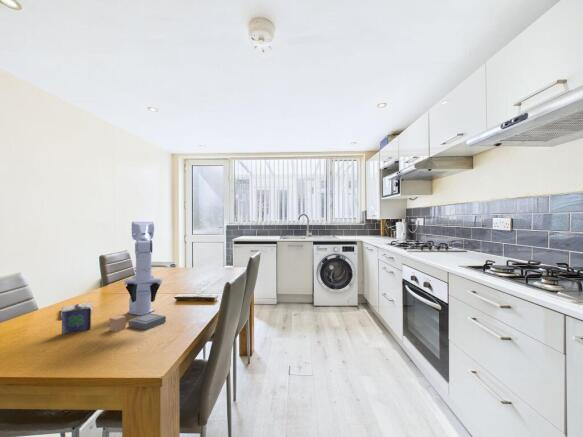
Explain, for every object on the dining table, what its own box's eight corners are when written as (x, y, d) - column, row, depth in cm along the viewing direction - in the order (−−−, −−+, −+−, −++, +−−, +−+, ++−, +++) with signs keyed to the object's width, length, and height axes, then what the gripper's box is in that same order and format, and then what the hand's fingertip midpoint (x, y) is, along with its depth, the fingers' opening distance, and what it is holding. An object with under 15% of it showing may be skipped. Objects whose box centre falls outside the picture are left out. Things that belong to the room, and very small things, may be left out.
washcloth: (60, 321, 123) (60, 314, 123) (60, 311, 137) (60, 305, 137) (93, 315, 131) (93, 308, 131) (90, 306, 144) (90, 300, 145)
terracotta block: (109, 330, 111) (109, 318, 112) (119, 327, 115) (119, 315, 115) (116, 332, 110) (116, 319, 110) (125, 328, 114) (125, 316, 114)
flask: (60, 335, 107) (61, 307, 107) (62, 332, 109) (62, 305, 110) (90, 330, 112) (90, 303, 112) (91, 328, 114) (91, 301, 114)
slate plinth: (128, 326, 116) (128, 319, 116) (149, 318, 125) (149, 312, 125) (145, 330, 112) (145, 323, 112) (165, 321, 121) (165, 315, 121)
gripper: (120, 270, 112) (120, 304, 112) (157, 270, 113) (157, 303, 113) (129, 268, 119) (129, 299, 119) (164, 267, 120) (164, 299, 120)
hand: (143, 301), depth 116 cm, fingers open, 7 cm apart
